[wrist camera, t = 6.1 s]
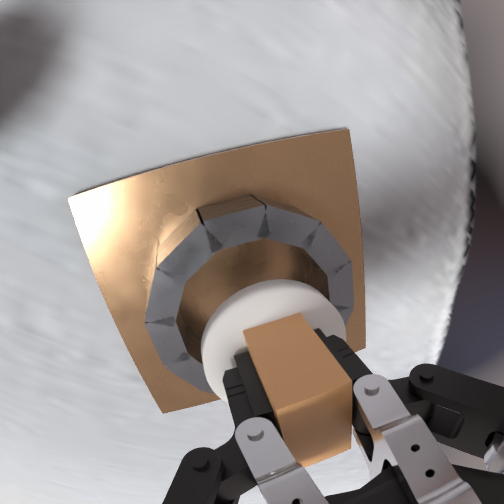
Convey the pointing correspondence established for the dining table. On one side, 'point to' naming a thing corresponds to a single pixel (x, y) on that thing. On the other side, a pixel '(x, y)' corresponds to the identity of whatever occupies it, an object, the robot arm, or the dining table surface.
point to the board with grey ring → (222, 247)
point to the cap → (286, 362)
